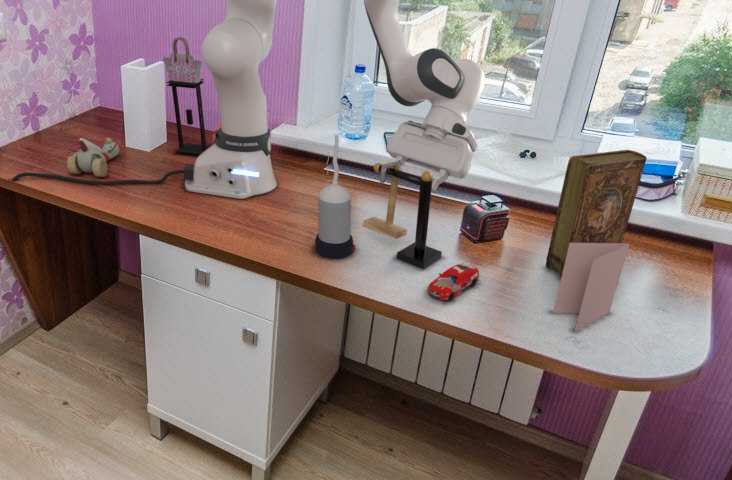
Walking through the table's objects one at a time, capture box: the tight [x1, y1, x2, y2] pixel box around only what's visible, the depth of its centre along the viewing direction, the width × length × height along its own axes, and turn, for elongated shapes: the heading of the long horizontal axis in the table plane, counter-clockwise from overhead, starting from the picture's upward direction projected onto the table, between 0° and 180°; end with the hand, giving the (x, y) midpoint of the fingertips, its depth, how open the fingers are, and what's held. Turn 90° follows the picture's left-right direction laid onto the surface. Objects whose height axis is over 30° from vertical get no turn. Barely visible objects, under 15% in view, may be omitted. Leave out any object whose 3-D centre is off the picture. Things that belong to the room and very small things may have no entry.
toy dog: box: [66, 136, 121, 178], centre depth 165 cm, size 12×19×9 cm, turn 19°
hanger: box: [362, 161, 408, 240], centre depth 136 cm, size 6×9×15 cm, turn 55°
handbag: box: [162, 36, 211, 157], centre depth 174 cm, size 10×8×30 cm
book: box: [545, 149, 647, 278], centre depth 133 cm, size 16×6×25 cm, turn 117°
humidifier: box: [314, 134, 356, 260], centre depth 132 cm, size 8×8×25 cm
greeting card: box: [552, 242, 630, 332], centre depth 118 cm, size 11×7×15 cm, turn 97°
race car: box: [427, 262, 480, 302], centre depth 128 cm, size 13×5×4 cm, turn 140°
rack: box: [373, 162, 443, 270], centre depth 135 cm, size 7×16×20 cm, turn 56°
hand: (413, 182), depth 142 cm, fingers open, 8 cm apart
